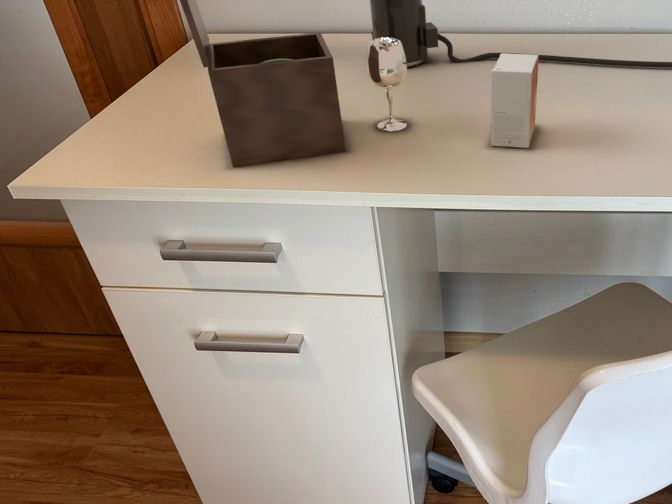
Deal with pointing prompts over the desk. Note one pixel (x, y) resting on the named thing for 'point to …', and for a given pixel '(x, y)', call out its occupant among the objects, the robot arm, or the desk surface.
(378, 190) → the desk surface
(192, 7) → the chest lid
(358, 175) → the desk surface
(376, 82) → the wineglass
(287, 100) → the chest
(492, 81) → the small box
